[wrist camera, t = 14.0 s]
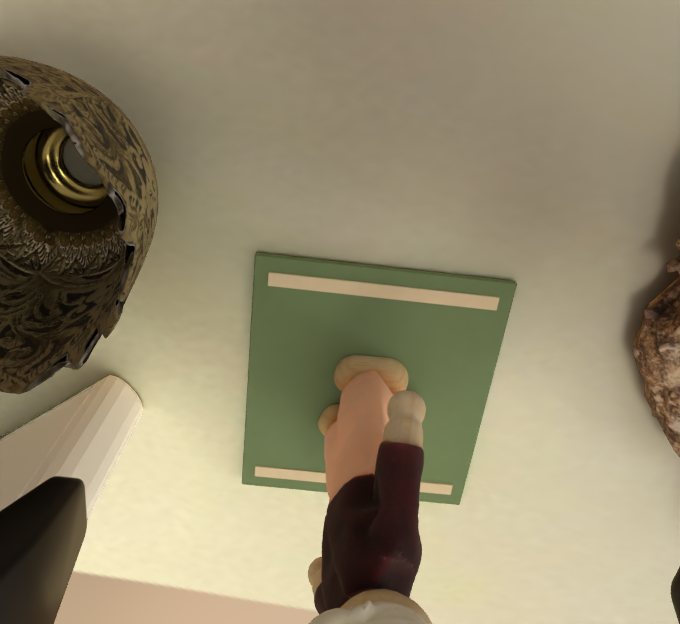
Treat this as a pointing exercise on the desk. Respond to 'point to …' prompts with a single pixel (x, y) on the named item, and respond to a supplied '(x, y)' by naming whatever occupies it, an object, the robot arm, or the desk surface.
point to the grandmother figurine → (370, 497)
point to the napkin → (369, 340)
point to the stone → (662, 356)
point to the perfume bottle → (71, 442)
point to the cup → (65, 221)
